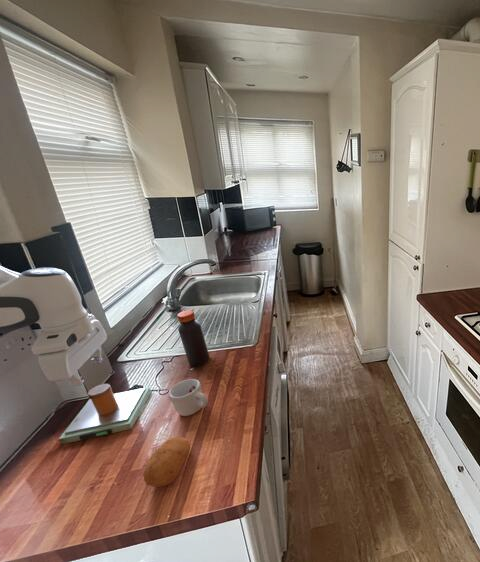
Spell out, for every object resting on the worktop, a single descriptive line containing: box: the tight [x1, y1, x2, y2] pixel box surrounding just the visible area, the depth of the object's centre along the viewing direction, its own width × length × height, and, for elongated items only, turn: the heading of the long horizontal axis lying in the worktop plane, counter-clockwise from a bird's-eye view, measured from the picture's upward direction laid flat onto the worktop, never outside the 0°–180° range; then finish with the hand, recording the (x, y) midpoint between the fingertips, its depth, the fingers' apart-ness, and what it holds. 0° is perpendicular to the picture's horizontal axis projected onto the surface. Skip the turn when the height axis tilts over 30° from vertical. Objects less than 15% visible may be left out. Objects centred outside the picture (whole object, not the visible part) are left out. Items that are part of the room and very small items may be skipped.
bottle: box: [176, 309, 211, 368], centre depth 109 cm, size 7×7×20 cm
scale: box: [58, 387, 152, 445], centre depth 89 cm, size 16×16×3 cm
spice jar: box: [87, 383, 118, 415], centre depth 87 cm, size 5×5×7 cm
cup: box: [167, 378, 209, 417], centre depth 89 cm, size 11×8×8 cm
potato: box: [143, 436, 191, 488], centre depth 72 cm, size 7×13×7 cm, turn 8°
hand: (89, 372), depth 84 cm, fingers open, 8 cm apart
